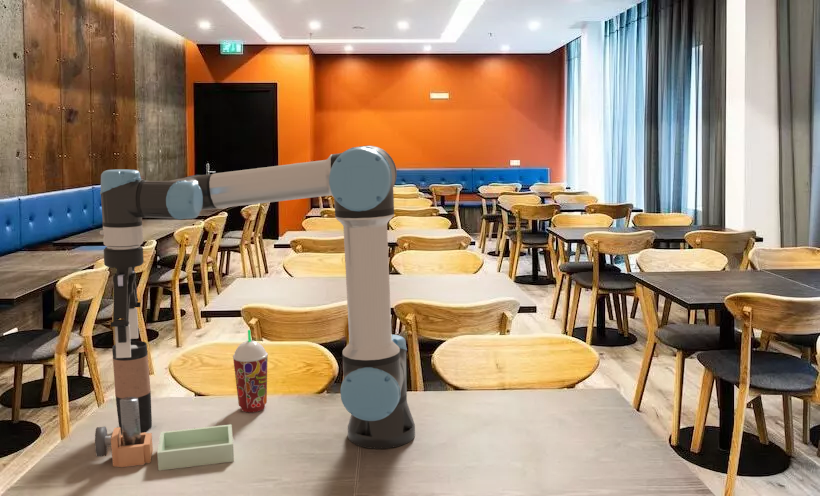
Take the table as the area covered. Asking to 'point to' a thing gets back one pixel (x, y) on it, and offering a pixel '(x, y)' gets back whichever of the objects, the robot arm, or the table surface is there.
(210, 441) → the tray
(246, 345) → the smoothie
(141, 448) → the block
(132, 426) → the pin
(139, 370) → the travel mug
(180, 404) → the table surface
